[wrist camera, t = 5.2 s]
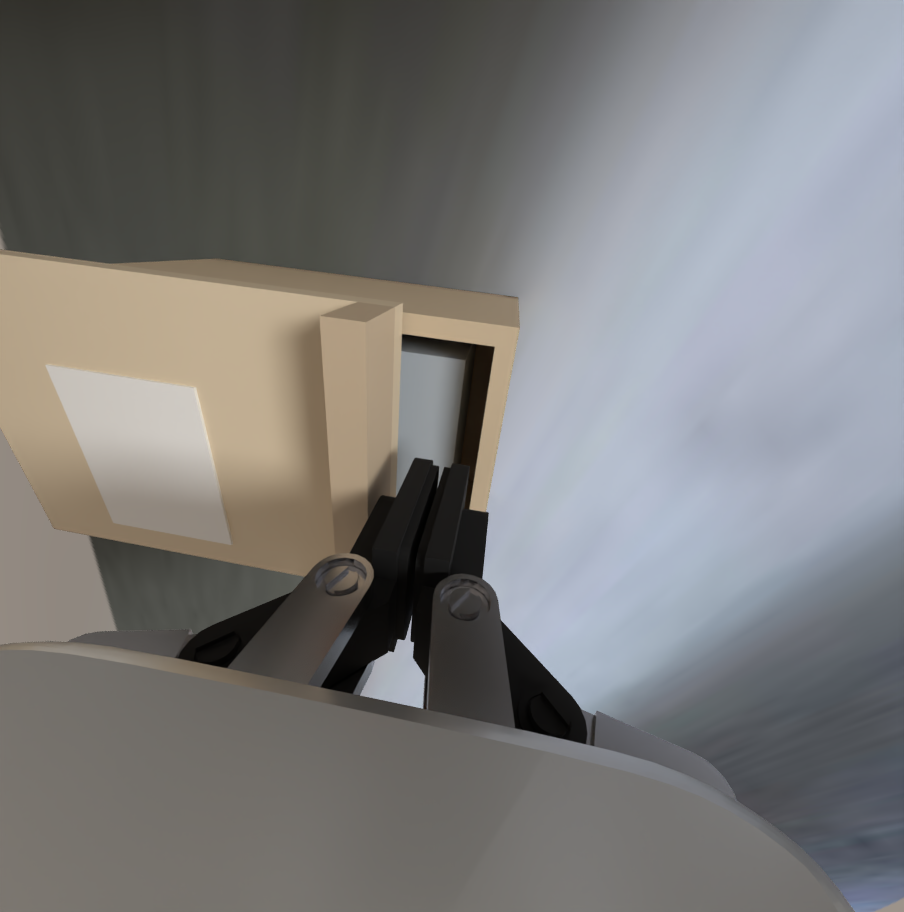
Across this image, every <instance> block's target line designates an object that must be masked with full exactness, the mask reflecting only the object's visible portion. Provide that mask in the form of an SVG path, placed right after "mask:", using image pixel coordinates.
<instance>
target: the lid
mask: <svg viewBox="0 0 904 912" xmlns="http://www.w3.org/2000/svg"><path fill="white" fill-rule="evenodd" d="M402 317H403V303H401V302H393V301H386V300H378V299H371V298H363V297H356V296H348V295H340V294H333V293H325V292H318V291H310V290H303V289H295V288H288V287H280V286H273V285H265V284H257V283H250V282H242V281H235V280H227V279H220V278H212V277H205V276H197V275H190V274H182V273H174V272H167V271H159V270H152V269H144V268H137V267H129V266H122V265H114V264H107V263H99V262H91V261H84V260H76V259H69V258H61V257H54V256H46V255H39V254H31V253H24V252H16V251H8V250H1V249H0V428H1V430H2V432H3V434H4V436H5V438H6V440H7V441H8V443H9V445H10V447H11V449H12V451H13V453H14V454H15V456H16V458H17V460H18V462H19V464H20V466H21V468H22V469H23V471H24V473H25V475H26V477H27V479H28V481H29V482H30V484H31V486H32V488H33V490H34V492H35V494H36V495H37V498H38V499H39V501H40V503H41V505H42V507H43V509H44V511H45V513H46V514H47V516H48V518H49V520H50V522H51V524H52V526H53V528H54V529H58V530H64V531H69V532H74V533H79V534H84V535H90V536H95V537H100V538H105V539H111V540H116V541H121V542H126V543H131V544H137V545H142V546H147V547H152V548H158V549H163V550H168V551H173V552H179V553H184V554H189V555H194V556H200V557H205V558H210V559H215V560H220V561H226V562H231V563H236V564H241V565H247V566H252V567H257V568H262V569H268V570H273V571H278V572H283V573H288V574H294V575H299V576H304V577H305V576H306V575H307V574H308V573H309V571H310V570H311V569H312V568H313V567H314V566H315V565H316V564H317V563H318V562H320V561H321V560H323V559H325V558H327V557H328V556H332V555H335V554H341V553H350V551H351V549H352V548H353V546H354V544H355V542H356V540H357V538H358V536H359V534H360V533H361V531H362V529H363V527H364V525H365V523H366V521H367V520H368V518H369V516H370V514H371V512H372V510H373V508H374V506H375V505H376V503H377V501H378V499H379V498H380V496H382V495H385V496H391V497H396V481H397V454H398V426H399V399H400V372H401V344H402Z"/></svg>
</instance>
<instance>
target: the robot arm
mask: <svg viewBox="0 0 904 912" xmlns="http://www.w3.org/2000/svg"><path fill="white" fill-rule="evenodd" d="M469 470H470V466H467V465H461V464H454V463H452V465H451V468H449V467H444V469H443V472H442V475H441V479H440V482H439V485H438V477H439V466H436V465H433V460H428V459H422V458H414V460H413V462H412V464H411V466H410V469H409V471H408V473H407V475H406V477H405V479H404V481H403V483H402V486H401V488H400V490H399V492H398V494H397V496H396V497H391V496H385V495H382V496H380V498H379V499H378V501H377V503H376V505H375V506H374V508H373V510H372V512H371V514H370V516H369V518H368V520H367V521H366V523H365V525H364V527H363V529H362V531H361V533H360V534H359V536H358V538H357V540H356V542H355V544H354V546H353V548H352V549H351V551H350V553H341V554H335V555H332V556H328V557H327V558H325V559H323V560H321V561H320V562H318V563H317V564H316V565H315V566H314V567H313V568H312V569H311V570H310V571H309V573H308V574H307V575H306V576H305V577H304V578H303V580H302V581H301V582H300V583H299V584H298V586H297V587H296V588H295V589H294V590H293V591H292V592H291V593H289V594H286V595H284V596H281V597H279V598H277V599H274V600H272V601H269V602H267V603H265V604H262V605H260V606H257V607H255V608H253V609H250V610H248V611H245V612H243V613H241V614H238V615H236V616H233V617H231V618H229V619H226V620H224V621H221V622H219V623H217V624H214V625H212V626H210V627H208V628H206V629H204V630H203V631H201V632H199V633H198V634H192V631H191V629H179V630H140V631H104V632H103V631H102V632H94V633H88V634H84V635H81V636H79V637H76V638H74V639H71V640H69V641H68V642H54V641H46V642H25V643H24V642H23V643H10V644H3V645H0V912H855V911H854V910H853V908H852V907H851V905H850V904H849V903H848V901H847V900H846V898H845V897H844V896H843V894H842V893H841V891H840V890H839V889H838V887H837V886H836V885H835V884H834V883H833V881H832V880H831V879H830V878H829V877H828V875H827V874H826V873H825V872H824V871H823V869H822V868H821V867H820V866H819V865H818V864H817V863H816V862H815V861H814V860H813V859H812V858H811V857H810V856H809V855H808V854H807V853H806V852H805V851H804V850H803V849H802V848H801V847H800V846H798V845H797V844H796V843H795V842H793V841H792V840H791V839H790V838H788V837H787V836H786V835H785V834H783V833H782V832H781V831H780V830H778V829H777V828H776V827H774V826H773V825H772V824H770V823H769V822H768V821H766V820H765V819H763V818H762V817H760V816H759V815H757V814H756V813H754V812H753V811H751V810H750V809H748V808H747V807H745V806H744V805H742V804H741V803H739V802H738V801H737V800H736V797H735V794H734V792H733V790H732V789H731V787H730V786H729V784H728V783H727V781H726V780H725V778H724V777H723V776H722V775H721V774H720V773H719V772H718V771H717V770H716V769H715V768H714V767H713V766H712V765H711V764H710V763H709V762H708V761H706V760H704V759H703V758H701V757H700V756H698V755H696V754H695V753H692V752H690V751H688V750H686V749H683V748H681V747H679V746H676V745H674V744H672V743H670V742H667V741H665V740H663V739H660V738H658V737H656V736H654V735H651V734H649V733H647V732H644V731H642V730H640V729H638V728H635V727H633V726H631V725H628V724H626V723H624V722H622V721H619V720H617V719H615V718H613V717H610V716H608V715H606V714H603V713H601V712H599V711H596V713H595V715H593V714H591V713H588V712H586V711H584V710H582V709H581V708H580V707H579V705H578V704H577V703H576V701H575V700H574V699H573V697H572V696H571V695H570V694H569V693H568V692H567V691H566V690H565V689H564V687H563V686H562V685H561V684H560V683H559V682H558V681H557V680H556V679H555V678H554V677H553V676H552V675H551V673H550V672H549V671H548V670H547V669H546V668H545V667H544V666H543V665H542V664H541V663H540V662H539V661H538V660H537V658H536V657H535V656H534V655H533V654H532V653H531V652H530V651H529V650H528V649H527V648H526V647H525V646H524V645H523V643H522V642H521V641H520V640H519V639H518V638H517V637H516V636H515V635H514V634H513V633H512V632H511V631H510V629H509V628H508V627H507V626H506V625H505V624H504V623H503V622H502V621H501V619H500V611H499V604H498V599H497V596H496V593H495V591H494V590H493V588H492V587H491V586H490V585H489V584H488V583H487V582H486V581H484V580H483V579H482V576H483V566H484V556H485V545H486V535H487V525H488V514H489V513H488V512H482V511H476V510H470V509H464V506H465V499H466V492H467V485H468V477H469ZM411 617H412V626H411V642H414V652H413V658H414V660H415V661H416V663H417V664H418V666H419V667H420V669H421V670H422V672H423V673H424V675H425V680H424V696H423V709H421V708H417V707H412V706H407V705H402V704H397V703H393V702H388V701H383V700H378V699H373V698H369V697H364V696H360V694H361V692H362V690H363V688H364V686H365V684H366V682H367V680H368V678H369V676H370V674H371V672H372V669H373V666H374V660H376V659H377V658H379V657H381V656H383V655H384V654H386V653H388V651H391V652H394V650H395V646H396V643H397V639H401V640H405V638H406V635H407V631H408V628H409V624H410V620H411Z"/></svg>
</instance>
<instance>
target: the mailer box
mask: <svg viewBox="0 0 904 912" xmlns="http://www.w3.org/2000/svg"><path fill="white" fill-rule="evenodd" d="M114 265H122V266H129V267H137V268H144V269H152V270H159V271H167V272H174V273H182V274H190V275H197V276H205V277H212V278H220V279H227V280H235V281H242V282H250V283H257V284H265V285H273V286H280V287H288V288H295V289H303V290H310V291H318V292H325V293H333V294H340V295H348V296H356V297H363V298H371V299H378V300H386V301H393V302H401V303H403V317H402V344H401V372H400V399H399V426H398V454H397V481H396V496H397V494H398V492H399V490H400V488H401V486H402V483H403V481H404V479H405V477H406V475H407V473H408V471H409V469H410V466H411V464H412V462H413V460H414V458H422V459H428V460H433V465H436V466H439V477H438V485H439V482H440V479H441V475H442V472H443V469H444V467H449V468H451V465H452V463H454V464H461V465H467V466H470V470H469V477H468V485H467V492H466V499H465V506H464V509H470V510H476V511H482V512H486V508H487V503H488V498H489V492H490V487H491V481H492V476H493V470H494V465H495V459H496V454H497V449H498V443H499V438H500V432H501V427H502V421H503V416H504V411H505V405H506V400H507V394H508V389H509V383H510V378H511V372H512V367H513V362H514V356H515V351H516V345H517V340H518V334H519V329H520V324H519V304H518V297H512V296H504V295H496V294H488V293H481V292H473V291H465V290H457V289H449V288H442V287H434V286H426V285H418V284H410V283H403V282H395V281H387V280H379V279H372V278H364V277H356V276H348V275H340V274H333V273H325V272H317V271H309V270H302V269H294V268H286V267H278V266H270V265H263V264H255V263H247V262H239V261H231V260H224V259H198V260H178V261H159V262H139V263H119V264H114Z"/></svg>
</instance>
